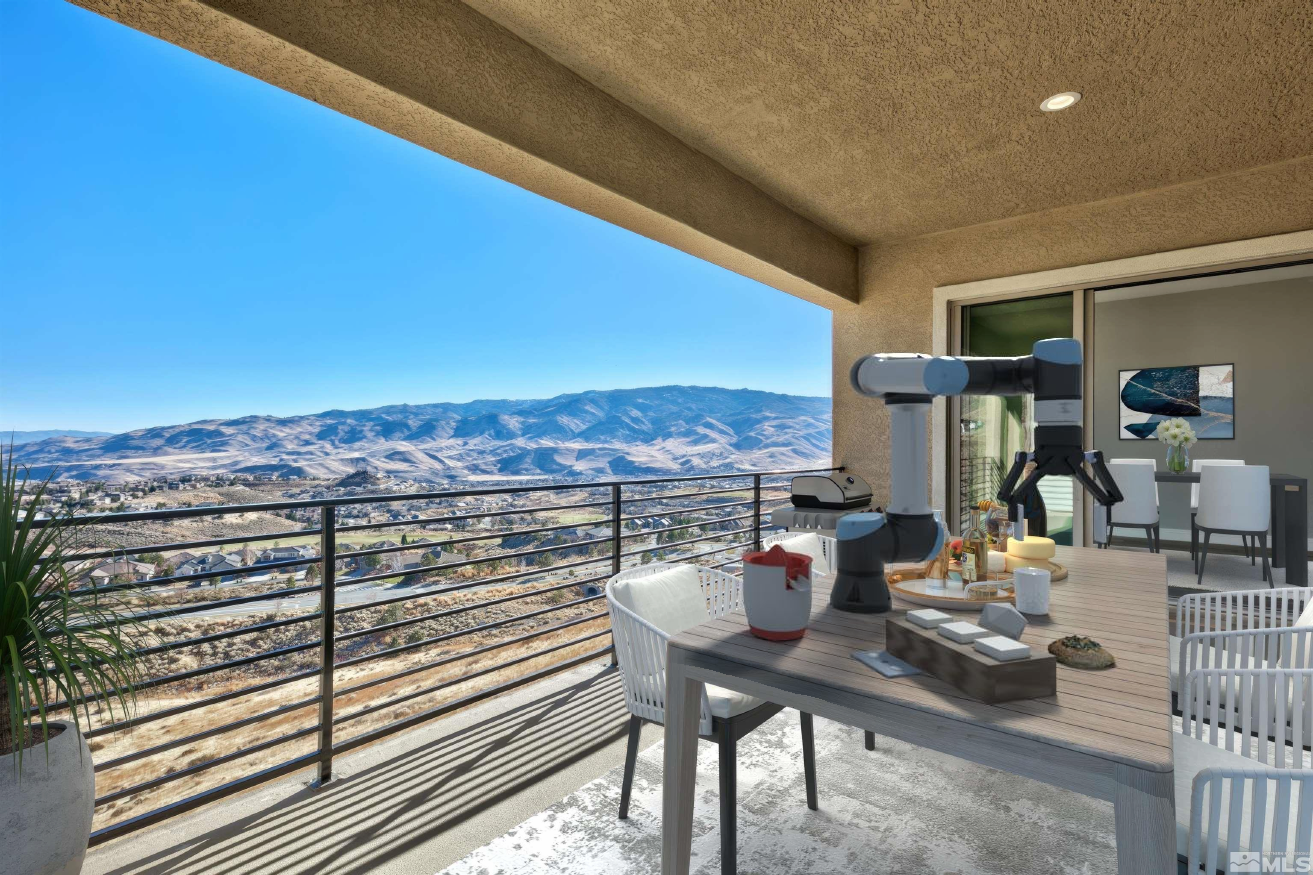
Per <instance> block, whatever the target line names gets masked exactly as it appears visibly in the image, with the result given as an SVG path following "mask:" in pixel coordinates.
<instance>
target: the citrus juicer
mask: <svg viewBox="0 0 1313 875" xmlns="http://www.w3.org/2000/svg"><path fill="white" fill-rule="evenodd" d="M741 560H742V586H743V587H742V595H743V606H744V612H745V615H746V619H747V624H748V627H749V629H750V631H751V634H753V635H755V636H756V637H759V638H762V639H767V640H770V641H772V642H779V641H791V640H796V639H799V638H801V637H803V636H804V635H805V633H806V631H807V629H808V625H809V620H810V617H811V611H812V602H813V581H812V580H813V578H812V577H813V576H812V575H813V572H812V569H813V566H812V565H813V564H812V562H814V559H813V557H811V556H810V555H807V554H803V553H798V552H792V551H786V550H785V549H784V548H783V546H781V545H780V544H778V543H775V544H774V545H773V546H771V547H770V548H769V549H768V551H767V550H766V551H755V552H754V551H753V552H749V553H746V554H745V553H744V554H743V555H742V556H741Z"/></svg>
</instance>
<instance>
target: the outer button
mask: <svg viewBox="0 0 1313 875" xmlns="http://www.w3.org/2000/svg"><path fill="white" fill-rule="evenodd" d="M1019 642H1020V641H1019ZM1019 642H1016V641H1013V640H1011V639H1008V638H1006V637H1003V636H997V637H989V638H981V639H974V649H976V650H978V651H980V652H983V653H985V654H987V655H990V656H992V657H994V658H996V659H999V660H1001V661H1003V660H1011V659H1018V658H1025V657H1030V647H1029V646H1030V645H1029V646H1026V645H1027V644H1026V645H1024V644H1025V643H1024V644H1021V643H1022V642H1021V643H1019Z"/></svg>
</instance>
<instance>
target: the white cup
mask: <svg viewBox="0 0 1313 875" xmlns="http://www.w3.org/2000/svg"><path fill="white" fill-rule="evenodd" d="M1051 575H1052V574H1051V571H1050V570H1046V569H1042V568H1036V567H1025V566H1024V567H1023V566H1022V567H1015V568H1013V586H1014V587H1013V588H1014V599H1015V609H1016V610H1017V611H1018V612H1019V613H1020V612H1021V613H1024V614H1028V615H1037V616H1044V615H1047V614H1049V602H1050V594H1051Z"/></svg>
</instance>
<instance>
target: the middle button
mask: <svg viewBox="0 0 1313 875" xmlns="http://www.w3.org/2000/svg"><path fill="white" fill-rule="evenodd" d="M967 622H968V621H967ZM967 622H955V623H946V624H938V633H939V634H941V635H944V636H946V637H948V638H950V639H953V640H955V641H957V642H960V643H968V642H974V639H981V638H989V631H988V630H985V629H982V628H980V627H977V626H978V625H977V626H975V625H976V624H974V625H972V624H973V623H972V624H970V623H971V622H969V623H967Z"/></svg>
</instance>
